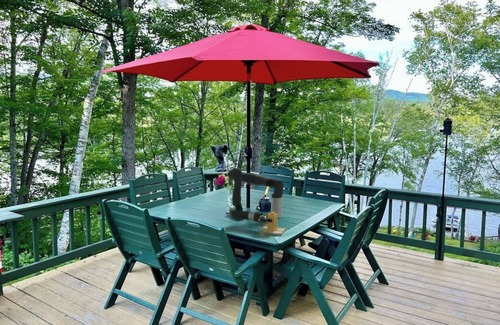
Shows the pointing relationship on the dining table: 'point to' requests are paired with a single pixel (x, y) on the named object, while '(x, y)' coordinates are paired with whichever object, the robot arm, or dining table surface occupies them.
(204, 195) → the dining table surface
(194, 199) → the dining table surface
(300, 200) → the dining table surface
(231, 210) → the handheld radio
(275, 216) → the tall orange toy brick
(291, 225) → the dining table surface
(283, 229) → the beige board with knob
